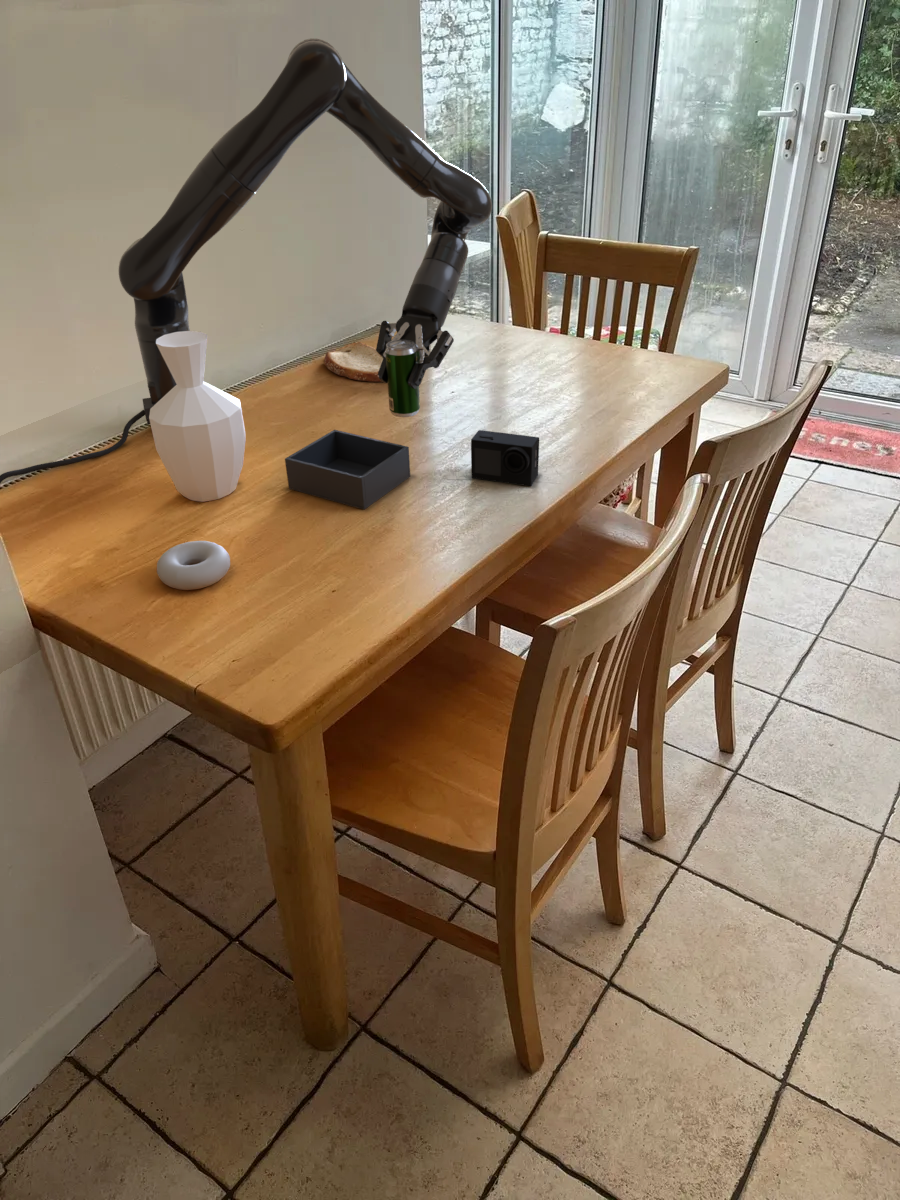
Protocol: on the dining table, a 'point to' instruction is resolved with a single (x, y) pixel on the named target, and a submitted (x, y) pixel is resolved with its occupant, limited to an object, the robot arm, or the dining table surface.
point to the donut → (193, 565)
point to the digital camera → (504, 457)
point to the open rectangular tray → (348, 468)
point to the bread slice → (355, 362)
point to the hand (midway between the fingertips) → (397, 383)
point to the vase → (197, 423)
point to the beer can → (401, 378)
